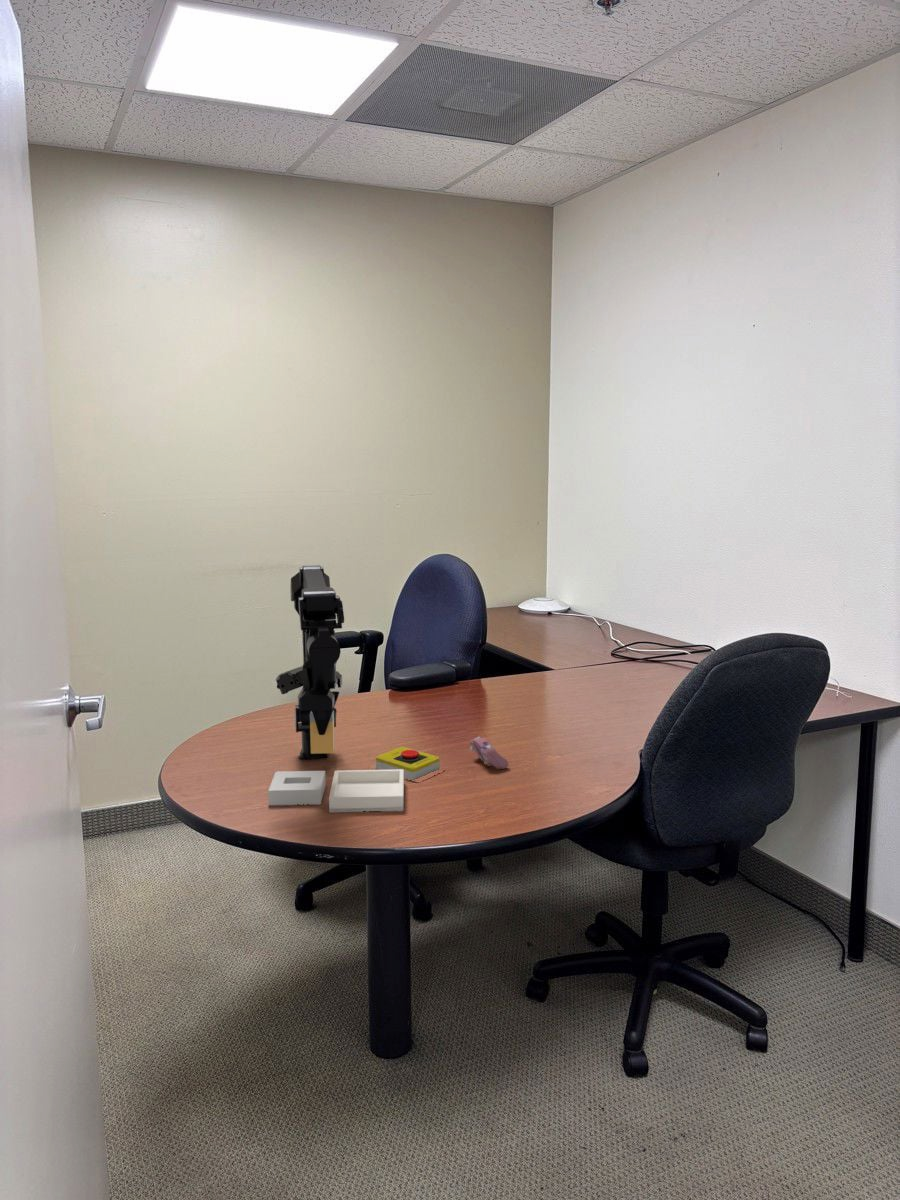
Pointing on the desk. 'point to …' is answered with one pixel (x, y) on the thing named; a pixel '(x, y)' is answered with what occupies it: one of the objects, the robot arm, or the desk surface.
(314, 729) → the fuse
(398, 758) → the emergency button
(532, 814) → the desk surface
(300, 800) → the white slotted block
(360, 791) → the parts tray
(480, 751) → the video game controller
